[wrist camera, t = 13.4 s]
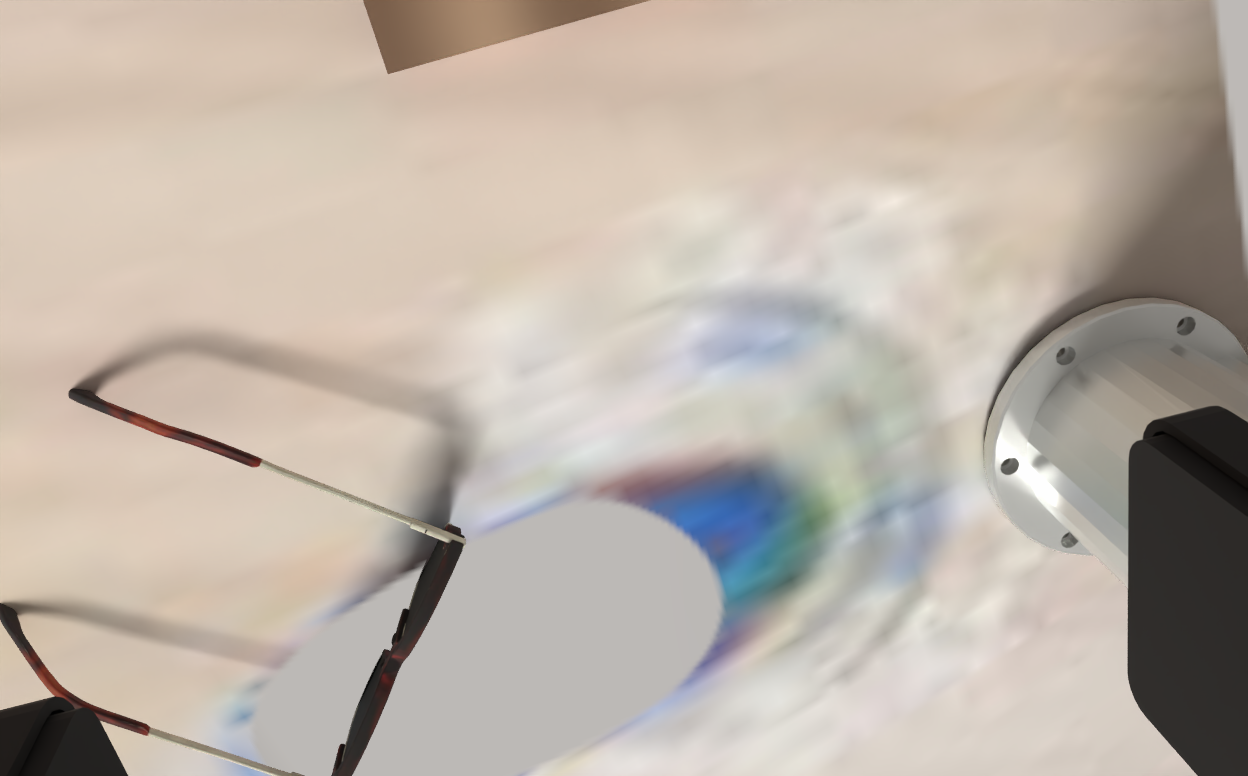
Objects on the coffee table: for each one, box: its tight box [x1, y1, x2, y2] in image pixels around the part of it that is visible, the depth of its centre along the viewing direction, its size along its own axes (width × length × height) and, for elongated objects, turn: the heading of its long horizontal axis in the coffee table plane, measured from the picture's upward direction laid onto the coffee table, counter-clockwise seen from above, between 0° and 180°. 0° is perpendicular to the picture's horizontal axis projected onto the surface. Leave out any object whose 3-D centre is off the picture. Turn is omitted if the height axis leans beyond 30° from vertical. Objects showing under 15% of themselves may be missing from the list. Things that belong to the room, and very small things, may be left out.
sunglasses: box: [0, 389, 466, 776], centre depth 44 cm, size 14×16×5 cm
